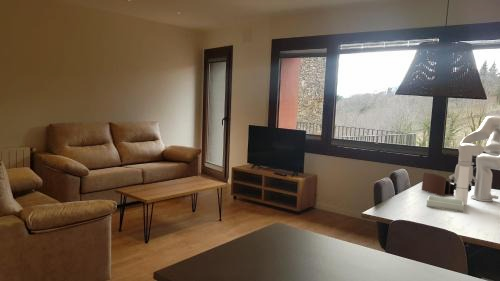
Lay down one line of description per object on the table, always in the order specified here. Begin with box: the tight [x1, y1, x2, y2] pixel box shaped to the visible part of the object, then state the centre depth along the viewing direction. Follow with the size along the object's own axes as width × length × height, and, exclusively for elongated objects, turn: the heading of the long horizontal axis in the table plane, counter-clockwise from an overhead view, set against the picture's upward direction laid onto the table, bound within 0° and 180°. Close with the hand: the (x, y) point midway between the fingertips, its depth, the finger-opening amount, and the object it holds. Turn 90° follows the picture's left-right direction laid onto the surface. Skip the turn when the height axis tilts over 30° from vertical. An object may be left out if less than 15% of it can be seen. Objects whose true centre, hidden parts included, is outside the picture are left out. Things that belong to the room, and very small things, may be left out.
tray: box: [426, 195, 465, 213], centre depth 236 cm, size 20×14×4 cm
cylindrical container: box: [454, 166, 470, 206], centre depth 243 cm, size 7×7×25 cm
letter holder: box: [421, 172, 455, 198], centre depth 272 cm, size 10×20×14 cm, turn 21°
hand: (461, 190), depth 244 cm, fingers open, 7 cm apart
